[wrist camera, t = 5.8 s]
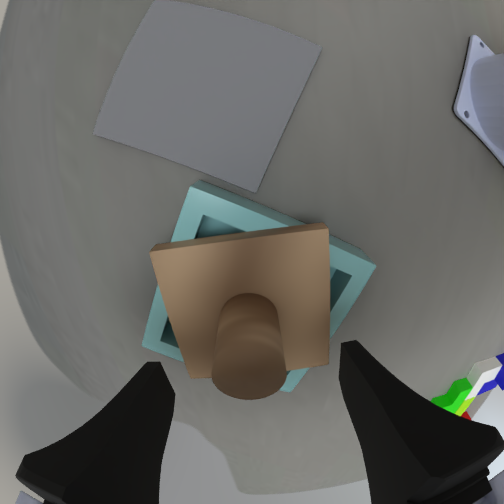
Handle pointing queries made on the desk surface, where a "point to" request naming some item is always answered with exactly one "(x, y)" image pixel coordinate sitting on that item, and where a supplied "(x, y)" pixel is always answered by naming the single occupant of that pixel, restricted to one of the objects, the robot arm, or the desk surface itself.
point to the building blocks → (473, 386)
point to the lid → (248, 305)
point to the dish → (244, 220)
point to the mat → (207, 90)
